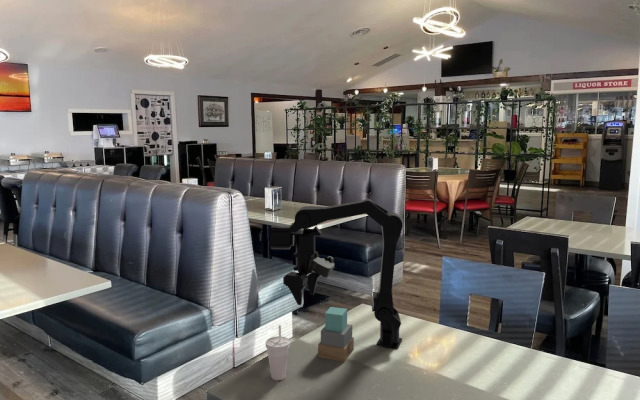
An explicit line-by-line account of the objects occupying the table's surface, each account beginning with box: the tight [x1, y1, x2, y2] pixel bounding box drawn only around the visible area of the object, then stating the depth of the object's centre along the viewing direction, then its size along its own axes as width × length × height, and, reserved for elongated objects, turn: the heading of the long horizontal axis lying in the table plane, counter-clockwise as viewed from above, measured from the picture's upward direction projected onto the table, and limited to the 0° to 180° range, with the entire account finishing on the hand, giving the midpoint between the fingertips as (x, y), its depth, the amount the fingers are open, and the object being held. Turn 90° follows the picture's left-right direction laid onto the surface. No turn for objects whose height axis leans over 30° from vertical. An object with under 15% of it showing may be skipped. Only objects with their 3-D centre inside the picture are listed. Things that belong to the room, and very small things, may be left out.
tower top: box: [320, 323, 353, 348], centre depth 132 cm, size 7×7×4 cm
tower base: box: [317, 336, 355, 363], centre depth 133 cm, size 8×8×4 cm
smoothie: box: [265, 324, 291, 381], centre depth 120 cm, size 6×6×14 cm
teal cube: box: [324, 306, 348, 332], centre depth 132 cm, size 5×5×5 cm
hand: (305, 299), depth 140 cm, fingers open, 9 cm apart
